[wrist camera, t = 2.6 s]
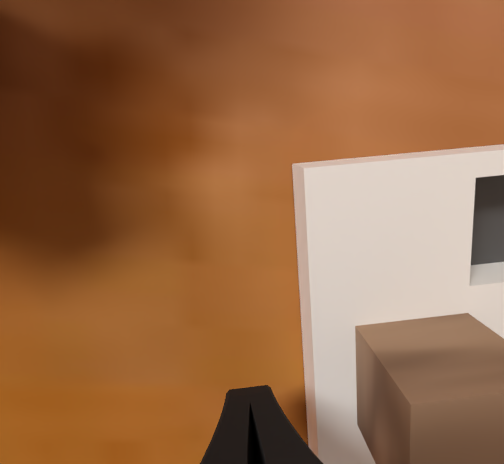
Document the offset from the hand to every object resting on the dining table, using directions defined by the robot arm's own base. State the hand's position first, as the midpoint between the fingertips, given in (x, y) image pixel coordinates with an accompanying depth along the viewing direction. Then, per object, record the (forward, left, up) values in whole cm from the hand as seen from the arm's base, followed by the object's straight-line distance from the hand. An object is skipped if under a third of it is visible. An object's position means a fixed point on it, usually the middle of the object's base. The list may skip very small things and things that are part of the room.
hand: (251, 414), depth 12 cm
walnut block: (0, -6, -1) cm, 6 cm away
